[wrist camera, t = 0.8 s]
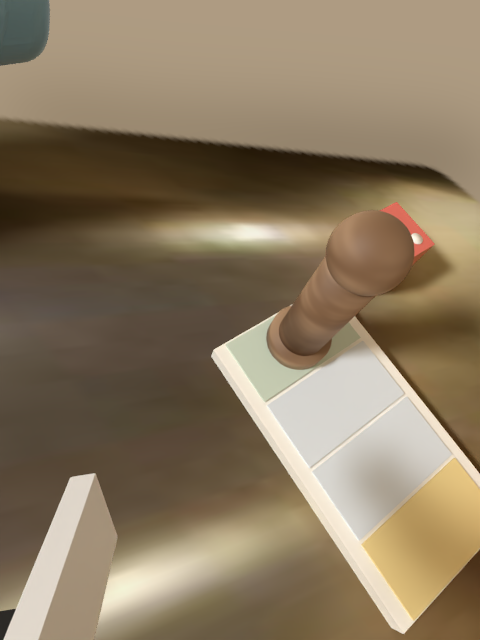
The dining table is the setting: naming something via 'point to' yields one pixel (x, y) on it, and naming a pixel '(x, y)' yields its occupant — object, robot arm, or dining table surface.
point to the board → (365, 463)
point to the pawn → (342, 286)
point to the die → (411, 230)
